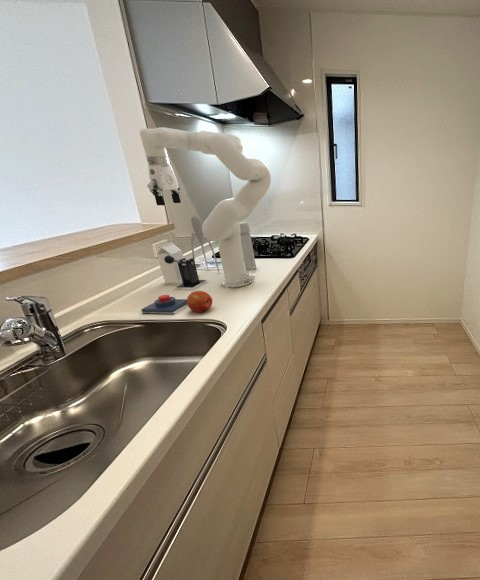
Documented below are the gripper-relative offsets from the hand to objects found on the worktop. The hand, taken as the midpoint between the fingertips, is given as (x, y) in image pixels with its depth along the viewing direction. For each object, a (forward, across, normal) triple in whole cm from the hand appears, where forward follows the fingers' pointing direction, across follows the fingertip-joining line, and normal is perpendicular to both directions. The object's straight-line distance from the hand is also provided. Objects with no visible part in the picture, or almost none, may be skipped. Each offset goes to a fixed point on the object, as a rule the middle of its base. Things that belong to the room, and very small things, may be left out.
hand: (169, 204), depth 137 cm
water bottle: (+37, +22, -18) cm, 47 cm away
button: (+33, -30, -12) cm, 46 cm away
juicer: (+37, +14, -2) cm, 40 cm away
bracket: (+37, -4, -4) cm, 37 cm away
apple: (+37, -31, -27) cm, 55 cm away
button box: (+37, -30, -12) cm, 49 cm away
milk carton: (+37, 0, +6) cm, 37 cm away
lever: (+25, -9, -4) cm, 27 cm away
